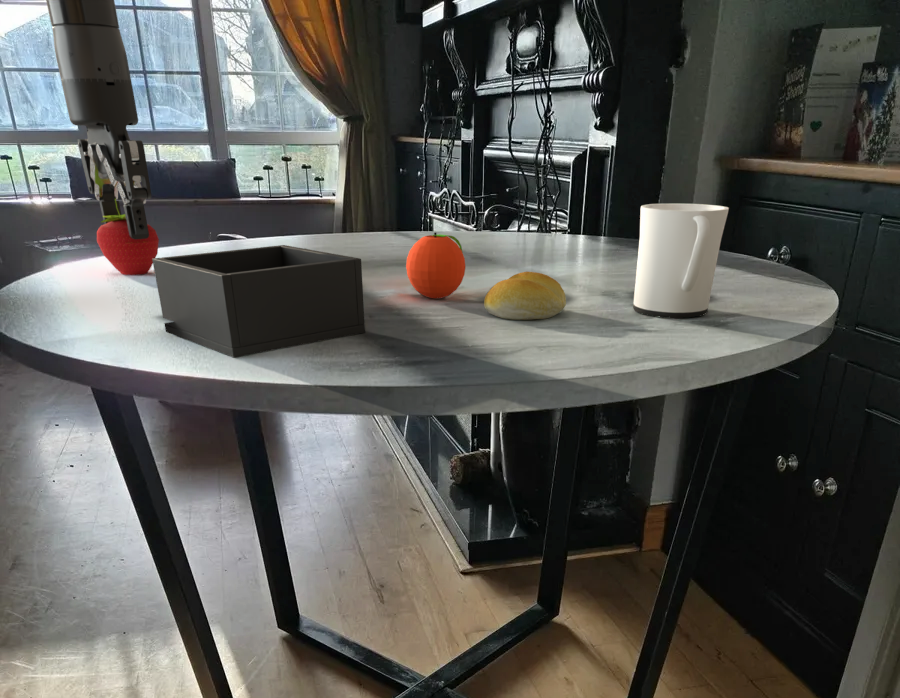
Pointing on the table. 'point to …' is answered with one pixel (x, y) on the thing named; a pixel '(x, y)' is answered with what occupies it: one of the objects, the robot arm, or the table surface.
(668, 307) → the mug
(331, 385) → the table surface
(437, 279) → the clementine
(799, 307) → the table surface
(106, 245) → the strawberry
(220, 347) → the open box
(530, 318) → the bread roll
